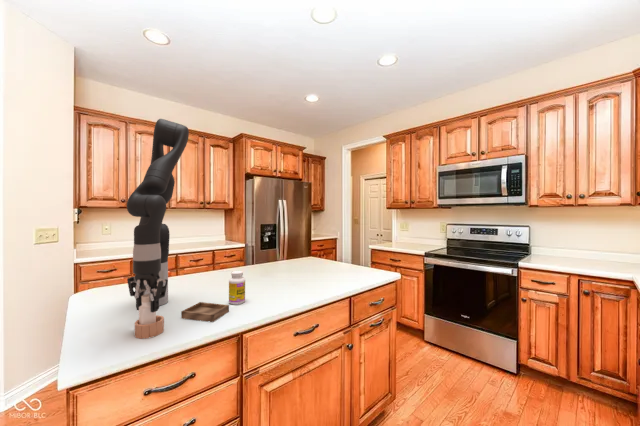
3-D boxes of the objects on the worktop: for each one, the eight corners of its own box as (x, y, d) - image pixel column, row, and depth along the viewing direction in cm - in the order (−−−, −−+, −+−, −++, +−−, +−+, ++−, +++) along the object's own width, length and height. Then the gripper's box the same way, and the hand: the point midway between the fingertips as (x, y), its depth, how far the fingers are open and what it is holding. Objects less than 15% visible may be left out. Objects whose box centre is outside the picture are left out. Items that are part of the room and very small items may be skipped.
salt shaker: (141, 328, 83) (141, 298, 83) (138, 324, 86) (138, 295, 86) (156, 324, 86) (156, 295, 86) (152, 321, 89) (152, 292, 89)
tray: (181, 318, 98) (181, 311, 98) (199, 308, 107) (199, 302, 107) (212, 322, 94) (212, 315, 94) (228, 311, 104) (228, 305, 104)
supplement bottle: (236, 306, 110) (236, 274, 110) (225, 303, 113) (225, 272, 113) (248, 301, 116) (248, 271, 115) (237, 298, 119) (237, 269, 119)
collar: (128, 336, 84) (128, 324, 83) (150, 326, 91) (149, 314, 91) (149, 339, 82) (149, 326, 82) (169, 328, 89) (169, 316, 89)
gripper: (175, 256, 87) (175, 308, 88) (140, 254, 91) (140, 303, 92) (155, 261, 80) (155, 317, 81) (118, 258, 84) (118, 312, 84)
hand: (147, 310), depth 86 cm, fingers closed on salt shaker, 5 cm apart
